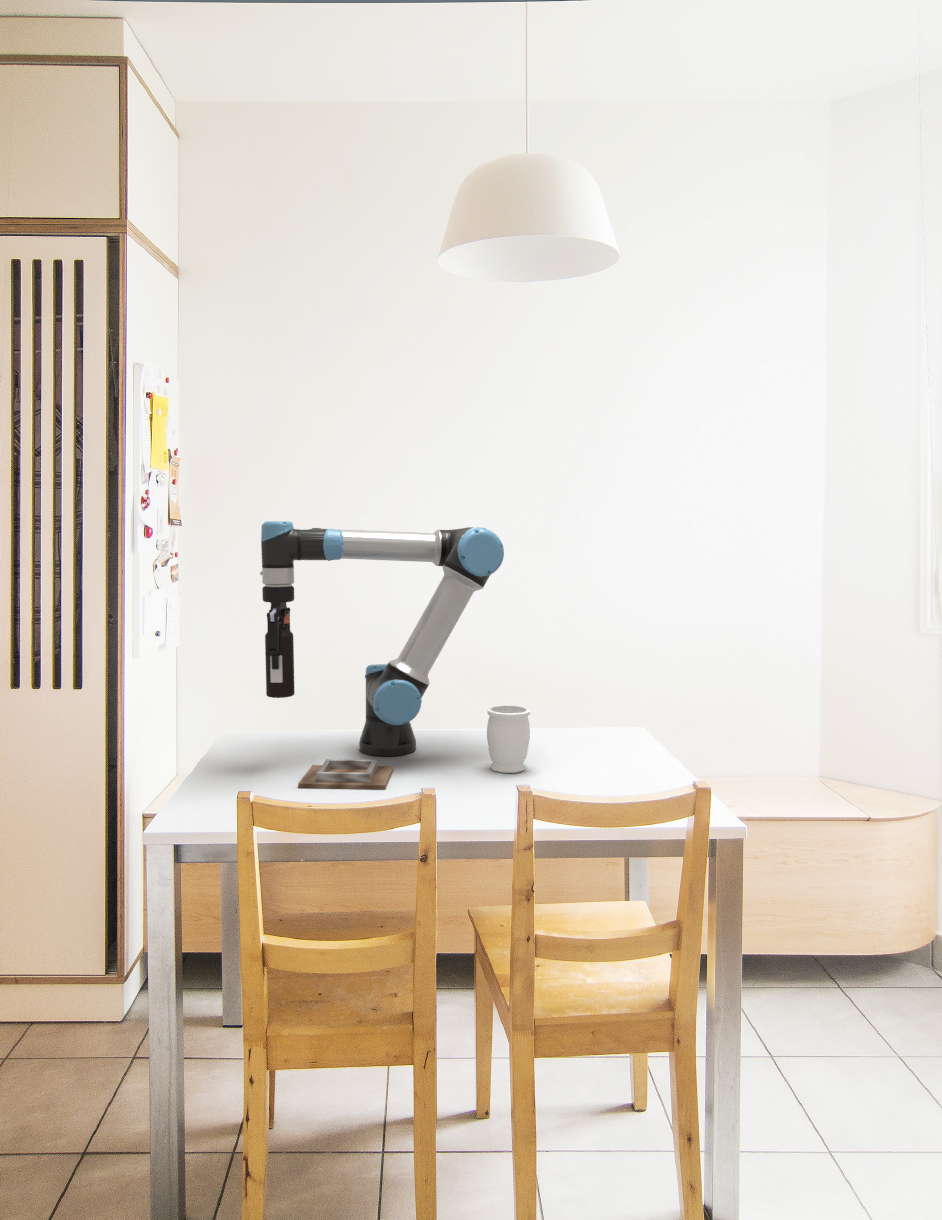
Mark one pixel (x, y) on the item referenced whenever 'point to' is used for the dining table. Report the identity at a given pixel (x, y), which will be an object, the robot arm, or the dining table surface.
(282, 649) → the vinegar
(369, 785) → the tray
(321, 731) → the dining table surface
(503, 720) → the jar
